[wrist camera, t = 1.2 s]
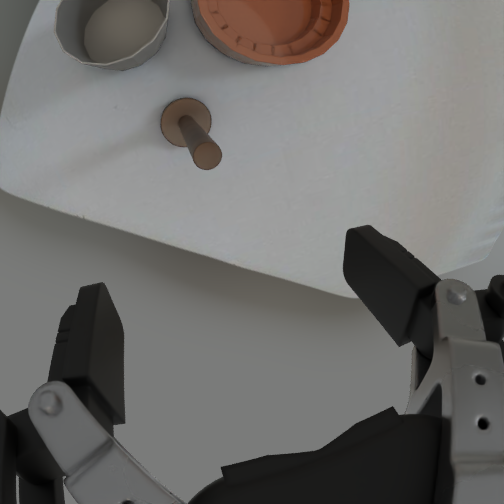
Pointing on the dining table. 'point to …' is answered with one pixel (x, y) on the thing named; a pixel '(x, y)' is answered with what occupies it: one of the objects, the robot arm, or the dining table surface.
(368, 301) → the robot arm
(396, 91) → the dining table surface
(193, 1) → the bowl
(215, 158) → the upright rod on disc
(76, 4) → the cup
